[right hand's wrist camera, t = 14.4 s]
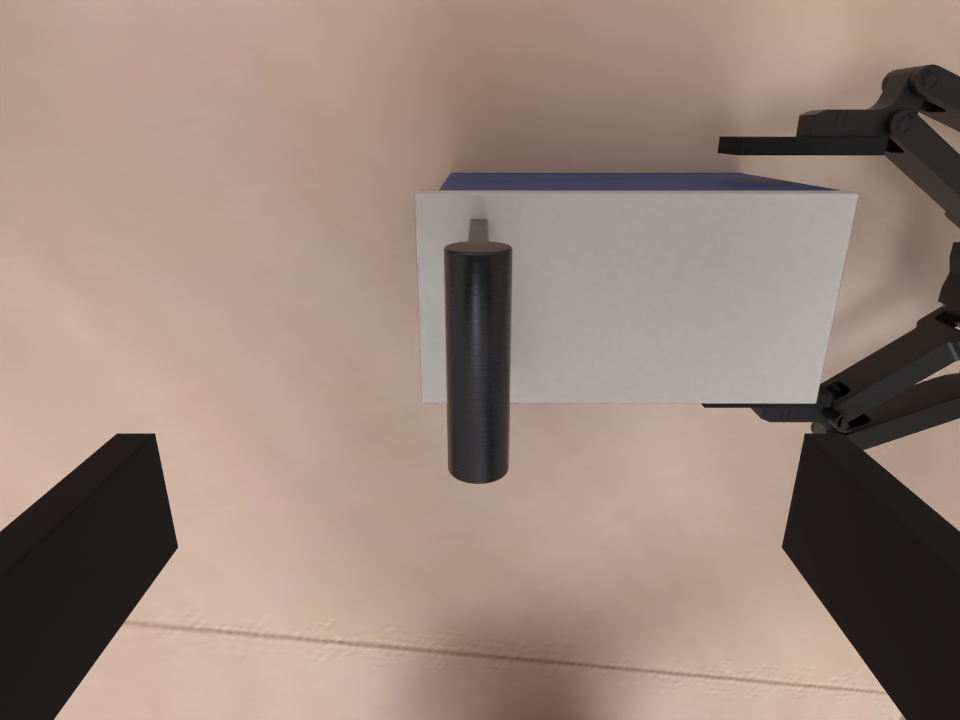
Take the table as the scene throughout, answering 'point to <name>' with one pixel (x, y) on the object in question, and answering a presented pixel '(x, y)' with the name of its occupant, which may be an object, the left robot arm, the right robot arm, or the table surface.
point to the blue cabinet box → (620, 182)
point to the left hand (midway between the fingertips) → (711, 276)
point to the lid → (620, 302)
